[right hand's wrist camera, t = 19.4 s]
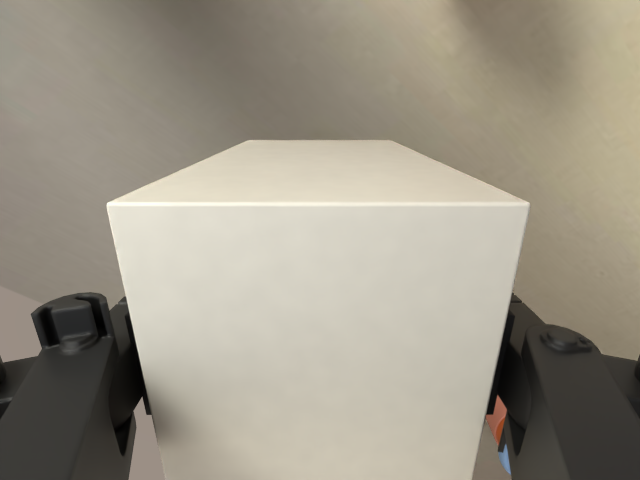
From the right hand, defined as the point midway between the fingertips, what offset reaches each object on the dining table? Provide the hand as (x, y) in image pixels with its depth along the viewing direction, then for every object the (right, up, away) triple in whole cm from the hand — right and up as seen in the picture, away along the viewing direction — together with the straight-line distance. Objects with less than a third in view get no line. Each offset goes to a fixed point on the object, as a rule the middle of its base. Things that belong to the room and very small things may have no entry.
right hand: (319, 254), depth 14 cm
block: (0, +1, +4) cm, 4 cm away
